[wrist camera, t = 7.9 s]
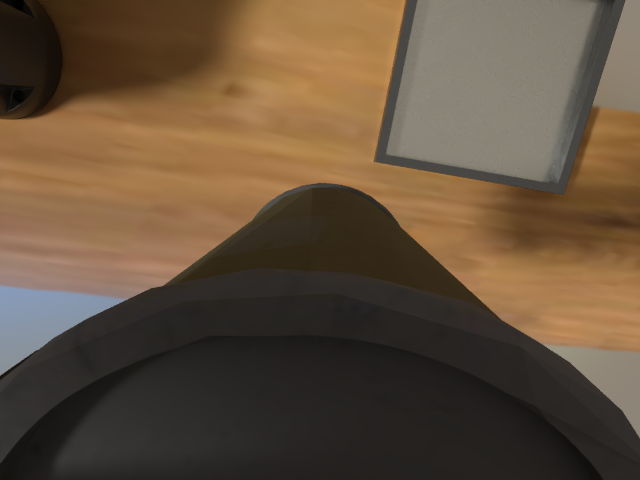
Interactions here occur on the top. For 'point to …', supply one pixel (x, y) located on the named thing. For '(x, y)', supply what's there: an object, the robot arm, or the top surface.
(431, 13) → the shallow grey tray
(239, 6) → the top surface
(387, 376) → the canister
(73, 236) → the top surface
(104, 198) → the top surface
